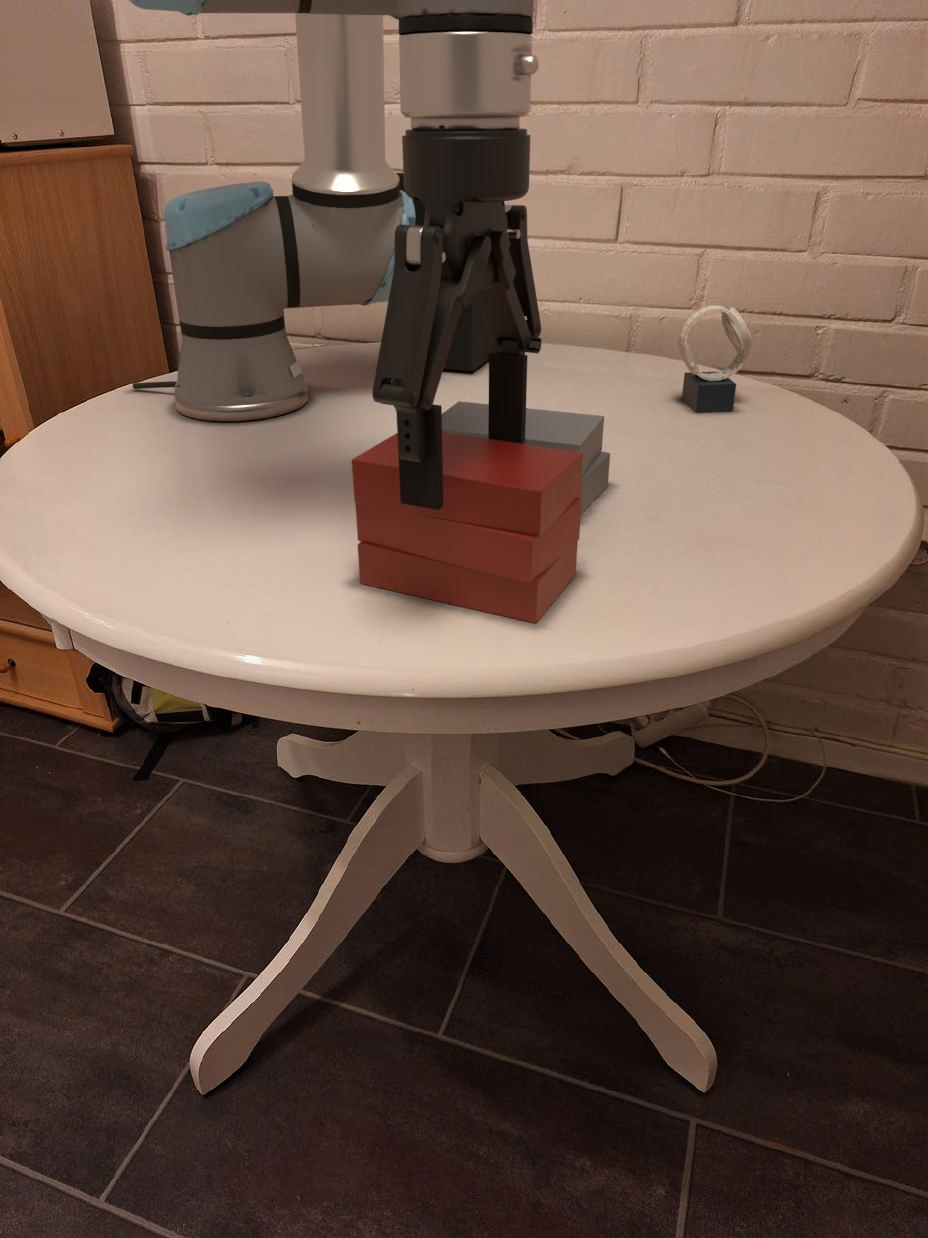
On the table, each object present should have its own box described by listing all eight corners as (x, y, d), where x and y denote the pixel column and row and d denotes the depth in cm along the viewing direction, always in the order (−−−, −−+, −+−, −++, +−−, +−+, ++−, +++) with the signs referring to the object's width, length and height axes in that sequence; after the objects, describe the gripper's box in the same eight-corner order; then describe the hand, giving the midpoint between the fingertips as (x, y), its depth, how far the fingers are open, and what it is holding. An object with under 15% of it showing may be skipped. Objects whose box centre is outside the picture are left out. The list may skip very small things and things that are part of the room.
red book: (354, 502, 64) (350, 459, 62) (408, 466, 70) (407, 426, 68) (539, 537, 58) (541, 491, 57) (580, 495, 65) (583, 452, 63)
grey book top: (424, 462, 80) (423, 427, 79) (458, 433, 87) (458, 401, 85) (578, 481, 76) (580, 444, 74) (602, 450, 83) (604, 415, 81)
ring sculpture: (749, 410, 104) (764, 310, 98) (680, 412, 103) (691, 312, 98) (732, 397, 108) (746, 301, 103) (666, 398, 108) (676, 302, 103)
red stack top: (357, 540, 66) (354, 499, 64) (416, 503, 72) (415, 465, 70) (530, 583, 60) (532, 539, 58) (579, 539, 66) (582, 498, 64)
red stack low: (359, 583, 67) (357, 543, 65) (411, 542, 73) (410, 505, 72) (536, 623, 62) (537, 581, 60) (576, 575, 68) (578, 536, 66)
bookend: (457, 331, 140) (455, 161, 129) (524, 336, 137) (528, 162, 126) (396, 368, 121) (388, 172, 110) (473, 374, 118) (473, 174, 107)
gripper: (422, 130, 42) (433, 549, 52) (596, 119, 61) (578, 426, 72) (287, 129, 44) (323, 527, 55) (494, 119, 64) (492, 414, 74)
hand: (467, 471), depth 63 cm, fingers open, 13 cm apart
